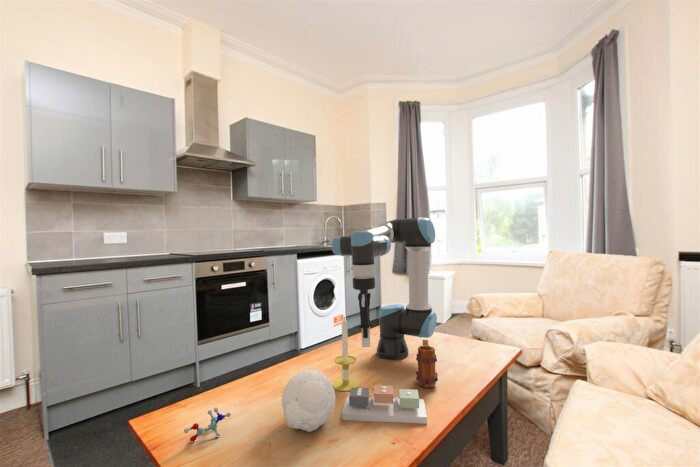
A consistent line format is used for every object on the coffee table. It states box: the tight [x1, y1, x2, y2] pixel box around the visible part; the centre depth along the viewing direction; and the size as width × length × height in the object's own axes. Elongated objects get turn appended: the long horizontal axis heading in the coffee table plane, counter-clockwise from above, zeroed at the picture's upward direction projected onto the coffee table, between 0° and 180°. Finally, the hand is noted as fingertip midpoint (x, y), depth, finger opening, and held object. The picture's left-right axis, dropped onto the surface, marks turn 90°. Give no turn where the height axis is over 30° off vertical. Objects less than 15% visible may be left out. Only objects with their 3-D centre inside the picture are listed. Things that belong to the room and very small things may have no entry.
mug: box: [415, 339, 439, 389], centre depth 128 cm, size 15×8×15 cm, turn 168°
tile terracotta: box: [373, 384, 394, 404], centre depth 107 cm, size 6×6×3 cm
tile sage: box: [398, 388, 420, 408], centre depth 106 cm, size 6×6×3 cm
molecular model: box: [183, 407, 232, 442], centre depth 96 cm, size 12×10×10 cm
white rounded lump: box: [281, 369, 336, 433], centre depth 101 cm, size 20×18×16 cm
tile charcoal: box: [348, 387, 370, 406], centre depth 108 cm, size 6×6×3 cm
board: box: [341, 395, 428, 425], centre depth 107 cm, size 11×26×3 cm, turn 83°
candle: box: [332, 316, 360, 392], centre depth 127 cm, size 10×10×27 cm
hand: (366, 346), depth 112 cm, fingers closed
